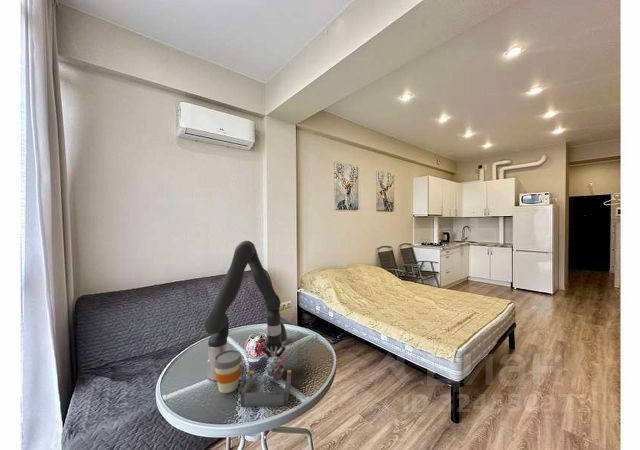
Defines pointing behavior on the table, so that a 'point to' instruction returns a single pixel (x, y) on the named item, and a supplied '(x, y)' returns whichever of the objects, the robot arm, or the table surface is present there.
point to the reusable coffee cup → (227, 370)
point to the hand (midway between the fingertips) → (274, 364)
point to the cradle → (265, 394)
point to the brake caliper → (275, 367)
